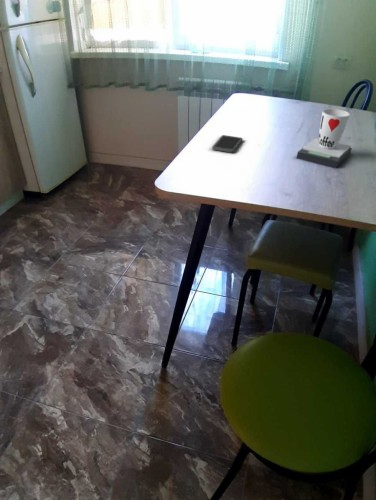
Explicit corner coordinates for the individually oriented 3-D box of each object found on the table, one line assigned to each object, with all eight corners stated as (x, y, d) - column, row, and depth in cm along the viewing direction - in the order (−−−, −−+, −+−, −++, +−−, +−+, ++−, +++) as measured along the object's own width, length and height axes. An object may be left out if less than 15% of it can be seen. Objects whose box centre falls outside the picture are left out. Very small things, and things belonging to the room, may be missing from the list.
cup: (309, 145, 133) (317, 111, 126) (323, 140, 137) (332, 107, 130) (330, 152, 129) (340, 118, 122) (345, 147, 133) (354, 113, 126)
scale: (349, 154, 136) (352, 146, 134) (335, 168, 126) (338, 159, 125) (312, 145, 141) (314, 137, 139) (296, 158, 131) (298, 149, 129)
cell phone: (242, 139, 142) (243, 137, 141) (233, 153, 132) (233, 150, 131) (222, 136, 143) (222, 134, 143) (211, 149, 133) (211, 147, 133)
